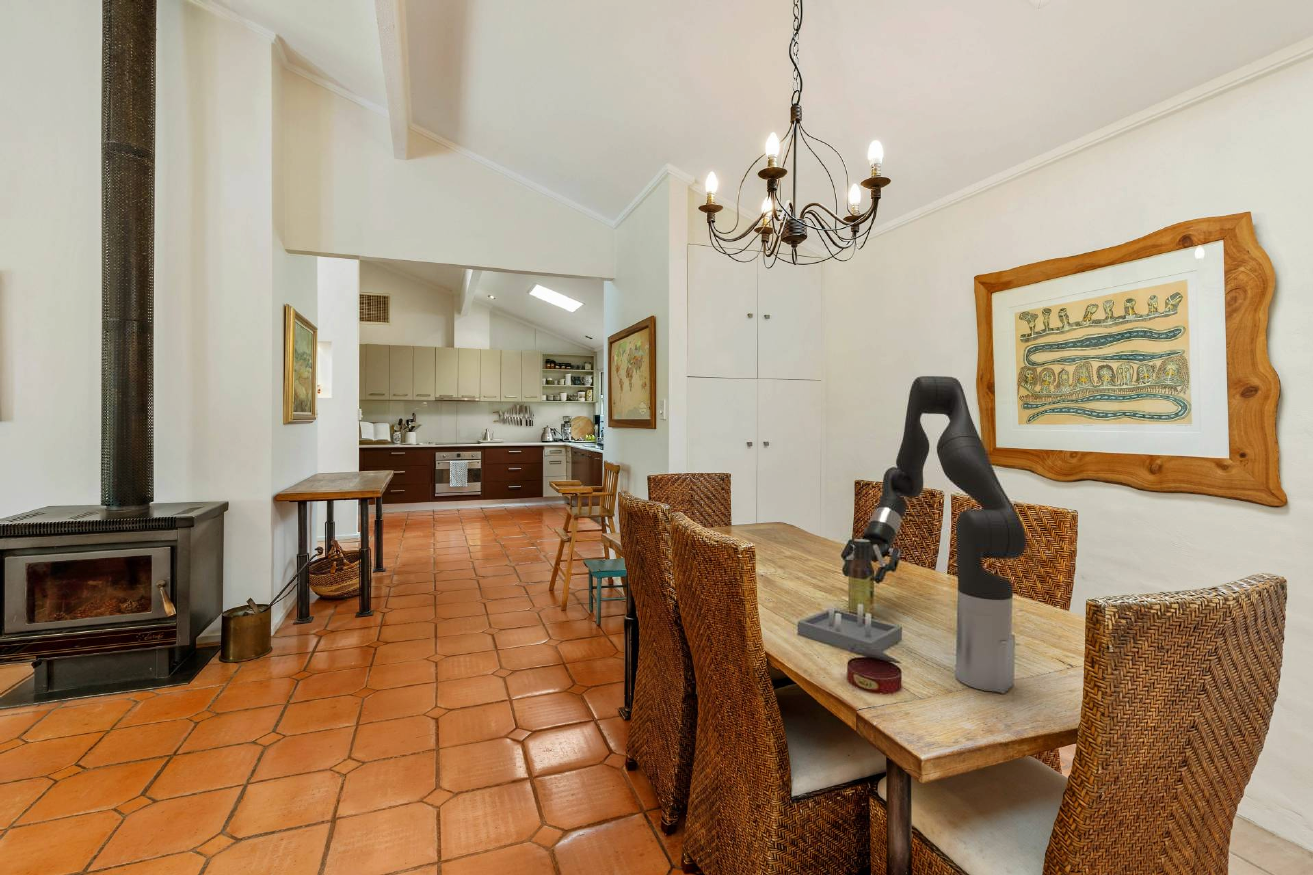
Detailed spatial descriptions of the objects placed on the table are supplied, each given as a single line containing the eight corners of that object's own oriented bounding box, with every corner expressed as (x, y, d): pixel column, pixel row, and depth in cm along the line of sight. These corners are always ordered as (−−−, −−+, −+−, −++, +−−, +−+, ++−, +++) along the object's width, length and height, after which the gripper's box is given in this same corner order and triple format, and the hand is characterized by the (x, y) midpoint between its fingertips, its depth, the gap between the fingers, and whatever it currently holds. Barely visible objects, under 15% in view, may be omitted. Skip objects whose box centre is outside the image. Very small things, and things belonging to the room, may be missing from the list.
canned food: (844, 701, 113) (829, 648, 117) (890, 691, 115) (873, 639, 119) (873, 699, 103) (854, 641, 107) (922, 688, 105) (902, 631, 109)
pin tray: (901, 639, 133) (902, 611, 133) (870, 657, 123) (870, 627, 123) (831, 619, 146) (831, 594, 146) (797, 633, 136) (798, 606, 136)
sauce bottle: (875, 622, 144) (877, 543, 144) (849, 620, 146) (851, 542, 145) (871, 614, 151) (873, 538, 150) (846, 612, 152) (847, 537, 152)
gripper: (853, 516, 158) (830, 564, 151) (904, 523, 148) (882, 575, 141) (862, 533, 162) (840, 581, 155) (913, 541, 152) (892, 592, 144)
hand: (860, 578), depth 148 cm, fingers open, 8 cm apart
